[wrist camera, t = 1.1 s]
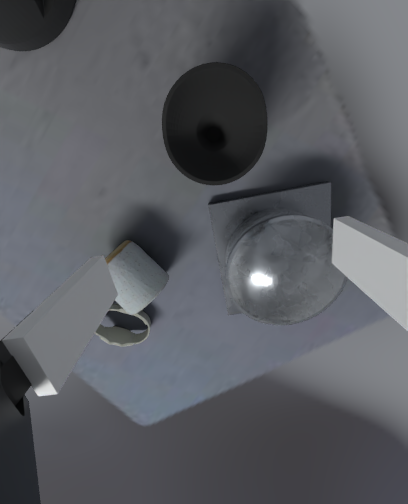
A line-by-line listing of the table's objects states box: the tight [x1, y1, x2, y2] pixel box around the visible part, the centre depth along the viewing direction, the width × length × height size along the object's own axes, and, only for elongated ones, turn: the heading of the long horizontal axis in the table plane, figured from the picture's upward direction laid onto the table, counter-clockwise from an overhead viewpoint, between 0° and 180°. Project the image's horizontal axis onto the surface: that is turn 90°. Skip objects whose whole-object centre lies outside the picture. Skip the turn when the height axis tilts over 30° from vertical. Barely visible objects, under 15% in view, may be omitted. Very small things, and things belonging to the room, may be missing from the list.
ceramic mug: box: [105, 240, 169, 315], centre depth 33 cm, size 11×8×8 cm
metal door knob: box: [208, 182, 348, 325], centre depth 32 cm, size 18×16×7 cm
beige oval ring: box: [95, 304, 151, 347], centre depth 38 cm, size 9×6×5 cm
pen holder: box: [162, 62, 267, 185], centre depth 25 cm, size 9×9×10 cm
